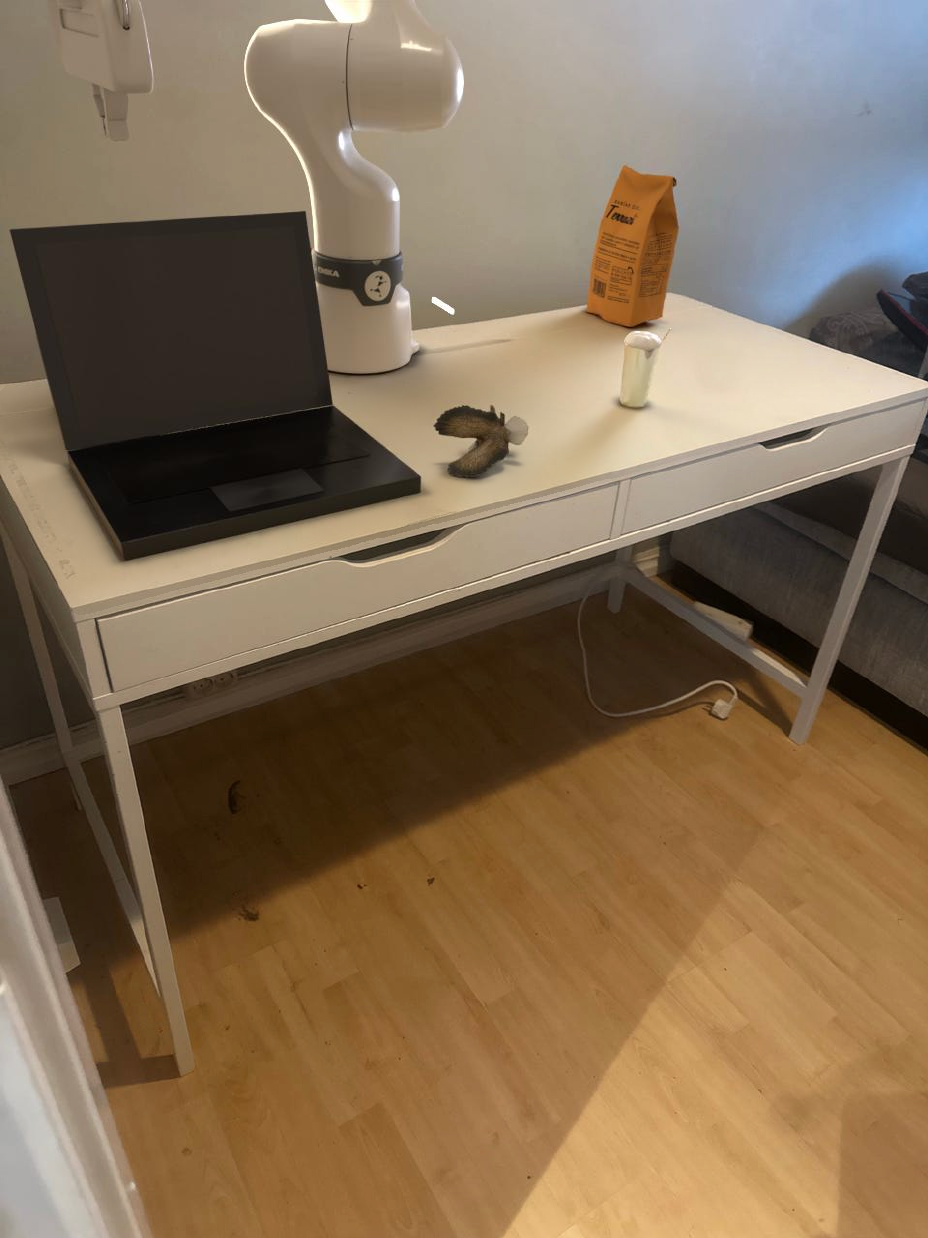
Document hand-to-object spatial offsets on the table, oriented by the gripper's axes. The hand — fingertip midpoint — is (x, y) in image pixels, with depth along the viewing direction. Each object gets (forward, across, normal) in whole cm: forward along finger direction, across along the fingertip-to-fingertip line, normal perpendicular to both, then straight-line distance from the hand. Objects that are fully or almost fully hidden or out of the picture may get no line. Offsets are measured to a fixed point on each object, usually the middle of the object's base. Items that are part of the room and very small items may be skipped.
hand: (115, 138), depth 87 cm
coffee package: (+29, +11, -80) cm, 86 cm away
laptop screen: (+17, -5, -3) cm, 18 cm away
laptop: (+29, -18, -3) cm, 35 cm away
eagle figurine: (+29, -26, -28) cm, 48 cm away
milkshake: (+29, -20, -56) cm, 66 cm away
